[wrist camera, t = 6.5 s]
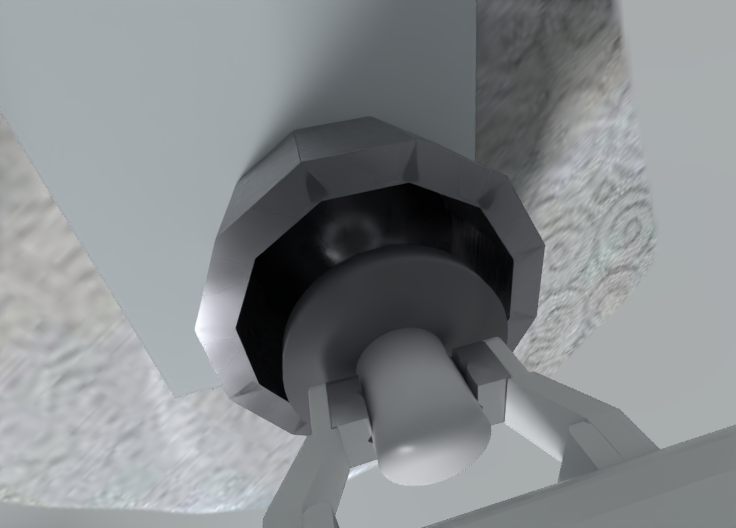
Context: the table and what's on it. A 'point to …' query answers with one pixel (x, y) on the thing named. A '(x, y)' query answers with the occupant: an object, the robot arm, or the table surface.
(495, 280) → the gray cup
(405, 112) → the mat
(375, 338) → the grey knob on disc
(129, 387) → the table surface
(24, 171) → the table surface
